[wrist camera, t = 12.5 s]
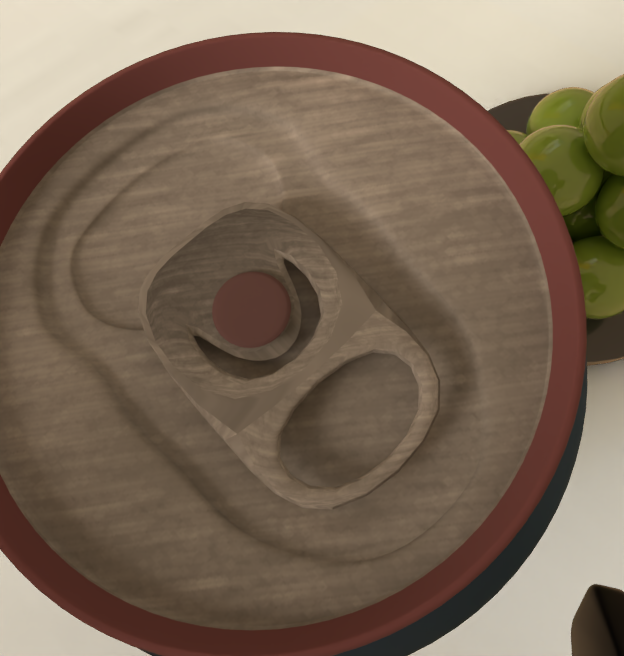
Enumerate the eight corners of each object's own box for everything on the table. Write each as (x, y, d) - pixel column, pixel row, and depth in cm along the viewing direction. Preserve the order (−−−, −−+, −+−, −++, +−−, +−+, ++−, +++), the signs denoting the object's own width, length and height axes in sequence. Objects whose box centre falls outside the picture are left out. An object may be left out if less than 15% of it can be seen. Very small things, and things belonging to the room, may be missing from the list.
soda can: (157, 422, 17) (-263, 285, 6) (336, 266, 18) (287, -132, 6) (317, 622, 15) (181, 1015, 4) (507, 441, 16) (859, 322, 5)
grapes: (540, 425, 16) (686, 372, 9) (363, 199, 19) (363, 7, 11) (777, 258, 17) (1094, 80, 10) (579, 58, 19) (713, -210, 12)
